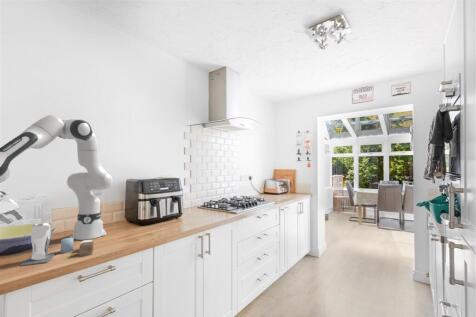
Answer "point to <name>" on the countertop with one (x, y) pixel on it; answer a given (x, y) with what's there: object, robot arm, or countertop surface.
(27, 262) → the charcoal mat
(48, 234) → the beer glass
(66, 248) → the slate-blue cylinder
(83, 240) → the pale grey block
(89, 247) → the walnut cube
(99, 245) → the countertop surface
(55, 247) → the countertop surface
